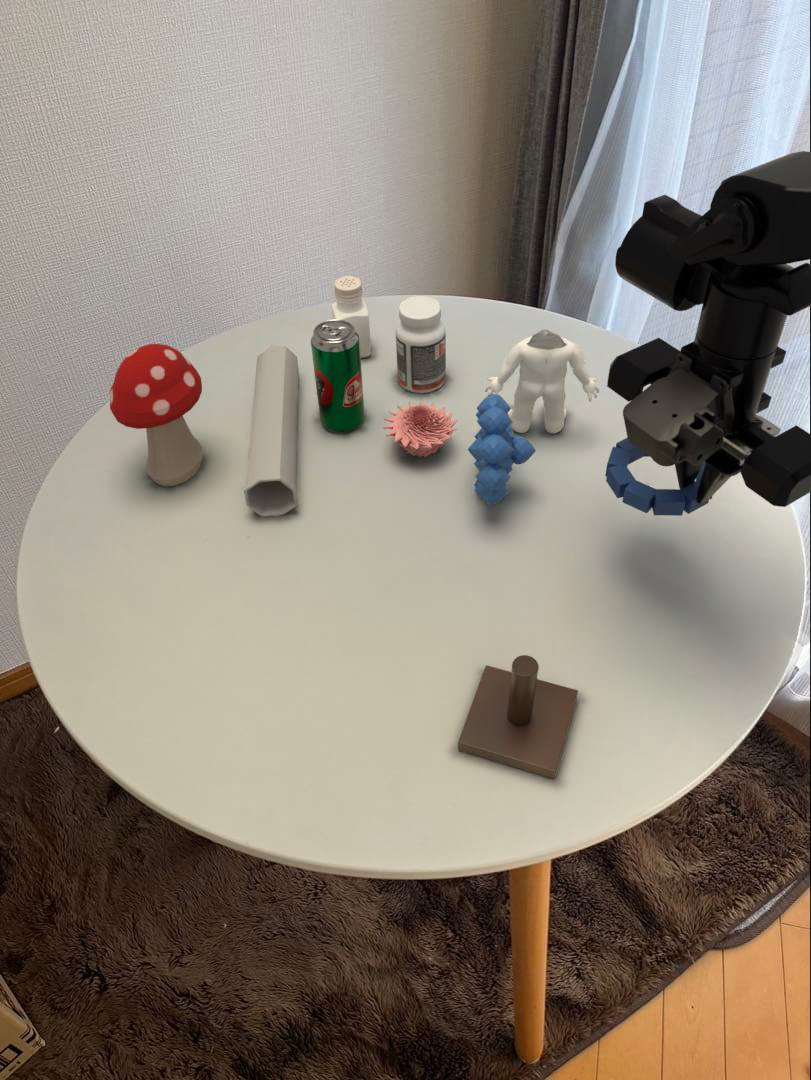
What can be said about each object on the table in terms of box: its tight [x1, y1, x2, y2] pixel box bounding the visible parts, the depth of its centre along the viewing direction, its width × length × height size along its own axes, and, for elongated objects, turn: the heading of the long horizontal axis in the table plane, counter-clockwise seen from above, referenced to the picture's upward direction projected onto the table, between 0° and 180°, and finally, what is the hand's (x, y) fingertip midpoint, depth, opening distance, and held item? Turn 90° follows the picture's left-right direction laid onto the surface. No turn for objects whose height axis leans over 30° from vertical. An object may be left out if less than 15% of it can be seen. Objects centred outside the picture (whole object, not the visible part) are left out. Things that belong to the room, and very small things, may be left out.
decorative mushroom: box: [109, 343, 204, 487], centre depth 92 cm, size 10×9×15 cm
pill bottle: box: [395, 295, 447, 394], centre depth 103 cm, size 6×6×10 cm
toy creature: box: [484, 329, 600, 434], centre depth 96 cm, size 12×6×12 cm, turn 87°
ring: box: [604, 437, 713, 517], centre depth 79 cm, size 9×10×2 cm
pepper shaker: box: [330, 275, 372, 359], centre depth 108 cm, size 4×4×10 cm
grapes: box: [467, 393, 537, 506], centre depth 89 cm, size 12×7×12 cm, turn 177°
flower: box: [382, 401, 458, 458], centre depth 96 cm, size 8×8×6 cm
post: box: [457, 654, 579, 780], centre depth 71 cm, size 8×8×8 cm
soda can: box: [310, 318, 366, 433], centre depth 98 cm, size 5×5×12 cm
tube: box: [243, 344, 300, 518], centre depth 98 cm, size 5×5×25 cm
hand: (693, 494), depth 76 cm, fingers closed on ring, 1 cm apart
